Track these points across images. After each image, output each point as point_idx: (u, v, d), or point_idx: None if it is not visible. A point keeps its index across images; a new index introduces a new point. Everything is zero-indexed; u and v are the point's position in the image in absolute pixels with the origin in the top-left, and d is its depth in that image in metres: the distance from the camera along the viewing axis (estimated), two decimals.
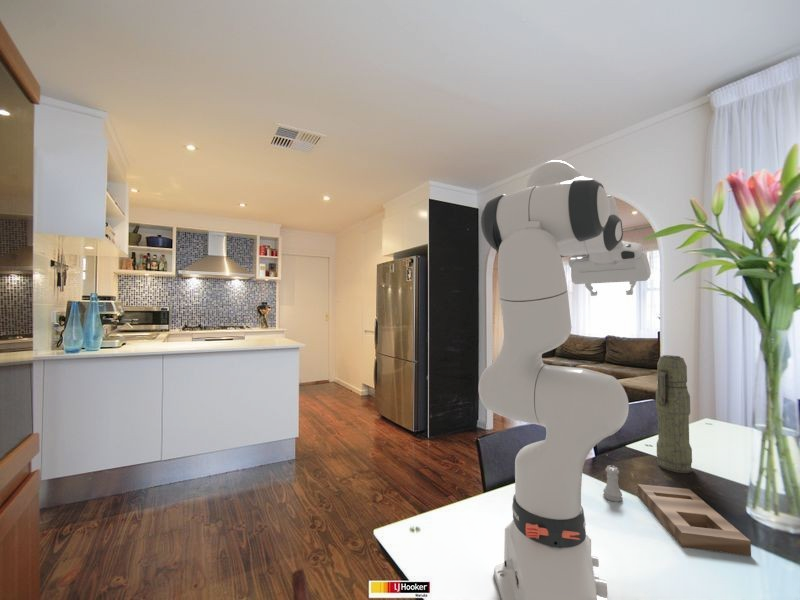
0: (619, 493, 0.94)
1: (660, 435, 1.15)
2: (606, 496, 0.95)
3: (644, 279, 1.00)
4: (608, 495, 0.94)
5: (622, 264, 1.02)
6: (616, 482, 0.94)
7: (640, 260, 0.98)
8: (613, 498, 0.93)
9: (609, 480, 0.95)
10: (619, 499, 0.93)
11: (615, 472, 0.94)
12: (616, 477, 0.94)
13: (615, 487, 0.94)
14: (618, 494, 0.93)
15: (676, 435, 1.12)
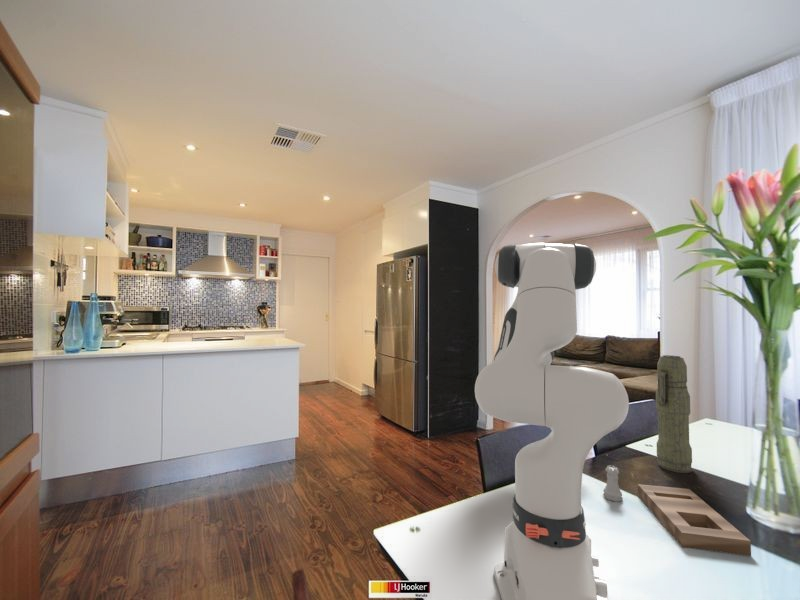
0: (619, 493, 0.94)
1: (660, 435, 1.15)
2: (606, 496, 0.95)
3: None
4: (608, 495, 0.94)
5: None
6: (616, 482, 0.94)
7: None
8: (613, 498, 0.93)
9: (609, 480, 0.95)
10: (619, 499, 0.93)
11: (615, 472, 0.94)
12: (616, 477, 0.94)
13: (615, 487, 0.94)
14: (618, 494, 0.93)
15: (676, 435, 1.12)
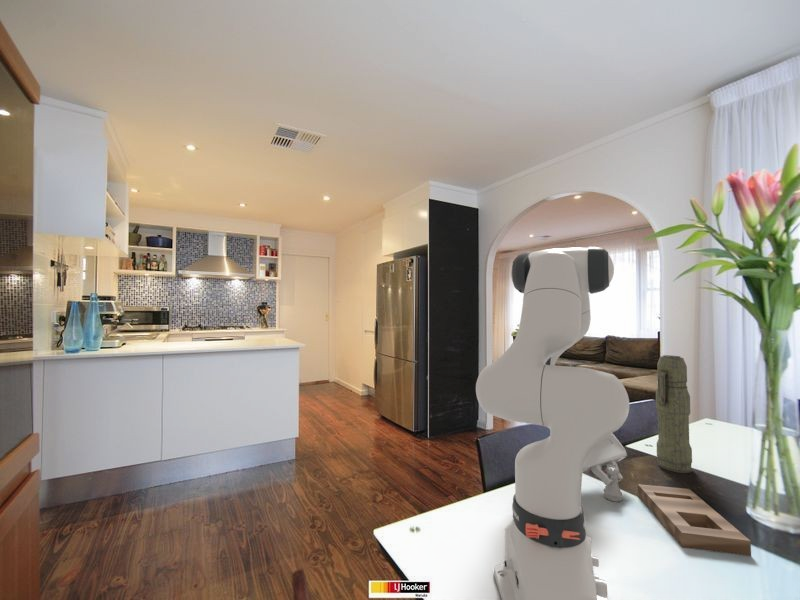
0: (619, 493, 0.94)
1: (660, 435, 1.15)
2: (606, 496, 0.95)
3: (625, 453, 1.01)
4: (608, 495, 0.94)
5: (602, 441, 1.02)
6: (616, 482, 0.94)
7: (611, 432, 1.05)
8: (613, 498, 0.93)
9: None
10: (619, 499, 0.93)
11: (615, 472, 0.94)
12: (616, 477, 0.94)
13: (615, 487, 0.94)
14: (618, 494, 0.93)
15: (676, 435, 1.12)
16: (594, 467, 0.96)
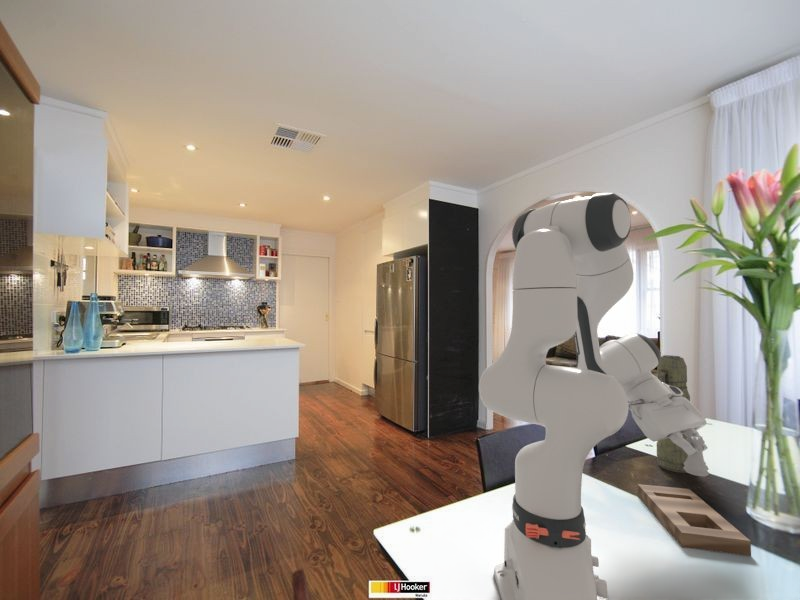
0: (705, 466, 0.79)
1: None
2: (689, 470, 0.80)
3: (705, 421, 0.86)
4: (692, 469, 0.79)
5: (677, 406, 0.87)
6: (701, 453, 0.79)
7: (685, 398, 0.90)
8: (698, 472, 0.78)
9: None
10: (706, 473, 0.78)
11: (700, 441, 0.79)
12: (701, 447, 0.79)
13: (701, 459, 0.79)
14: (705, 467, 0.78)
15: None
16: (673, 434, 0.81)
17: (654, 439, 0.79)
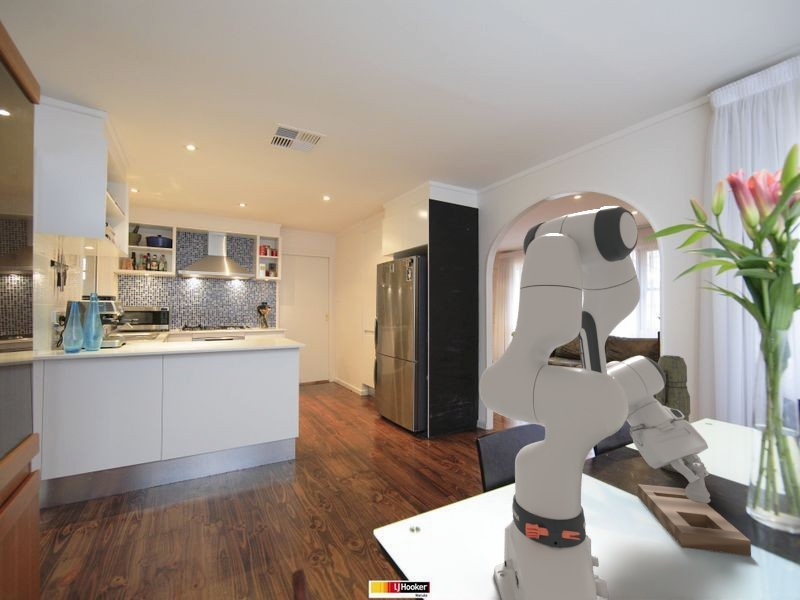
0: (707, 493, 0.79)
1: None
2: (690, 497, 0.80)
3: (706, 445, 0.86)
4: (693, 495, 0.79)
5: (678, 430, 0.87)
6: (703, 480, 0.79)
7: (686, 421, 0.89)
8: (700, 499, 0.78)
9: None
10: (707, 500, 0.78)
11: (702, 468, 0.79)
12: (702, 474, 0.79)
13: (702, 486, 0.79)
14: (706, 494, 0.78)
15: None
16: (675, 461, 0.81)
17: (655, 467, 0.79)
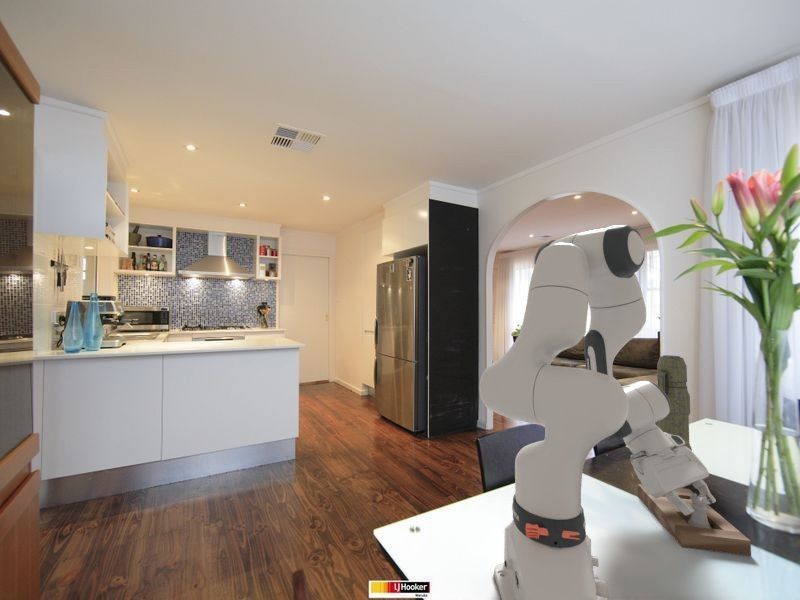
0: (709, 527, 0.79)
1: None
2: None
3: (707, 473, 0.86)
4: None
5: (679, 457, 0.87)
6: (705, 514, 0.79)
7: (687, 447, 0.89)
8: None
9: (696, 511, 0.80)
10: None
11: (704, 502, 0.79)
12: (705, 508, 0.79)
13: (704, 520, 0.79)
14: None
15: (676, 435, 1.12)
16: None
17: (656, 496, 0.79)
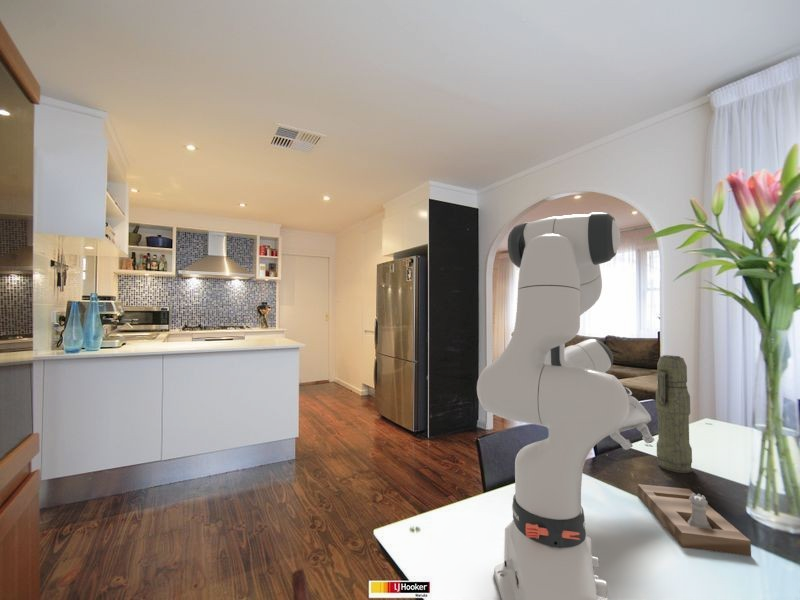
0: (709, 527, 0.79)
1: (660, 435, 1.15)
2: None
3: (649, 418, 0.97)
4: None
5: None
6: (704, 514, 0.79)
7: None
8: None
9: (695, 511, 0.80)
10: None
11: (703, 502, 0.79)
12: (704, 508, 0.79)
13: (704, 521, 0.79)
14: None
15: (676, 435, 1.12)
16: None
17: None
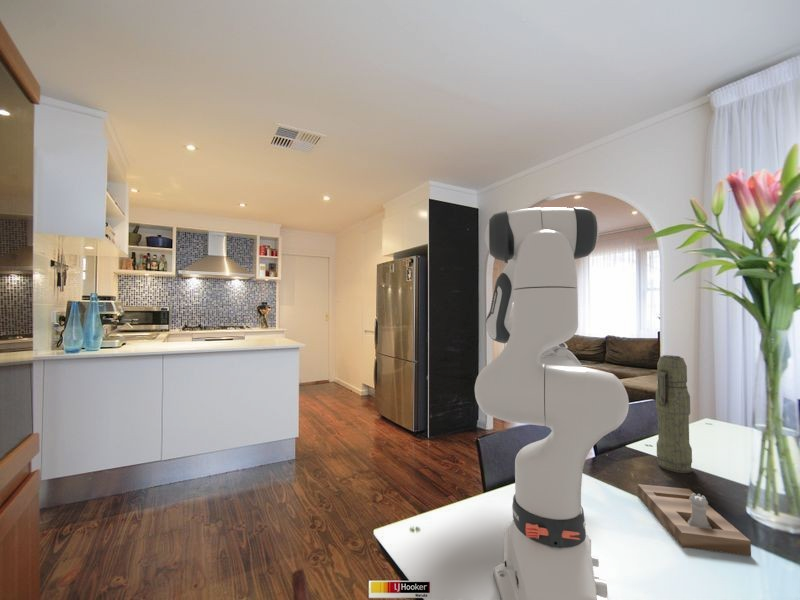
0: (709, 527, 0.79)
1: (660, 435, 1.15)
2: None
3: None
4: None
5: (560, 356, 1.09)
6: (704, 514, 0.79)
7: None
8: None
9: (695, 512, 0.80)
10: None
11: (703, 502, 0.79)
12: (704, 508, 0.79)
13: (704, 521, 0.79)
14: None
15: (676, 435, 1.12)
16: None
17: None
